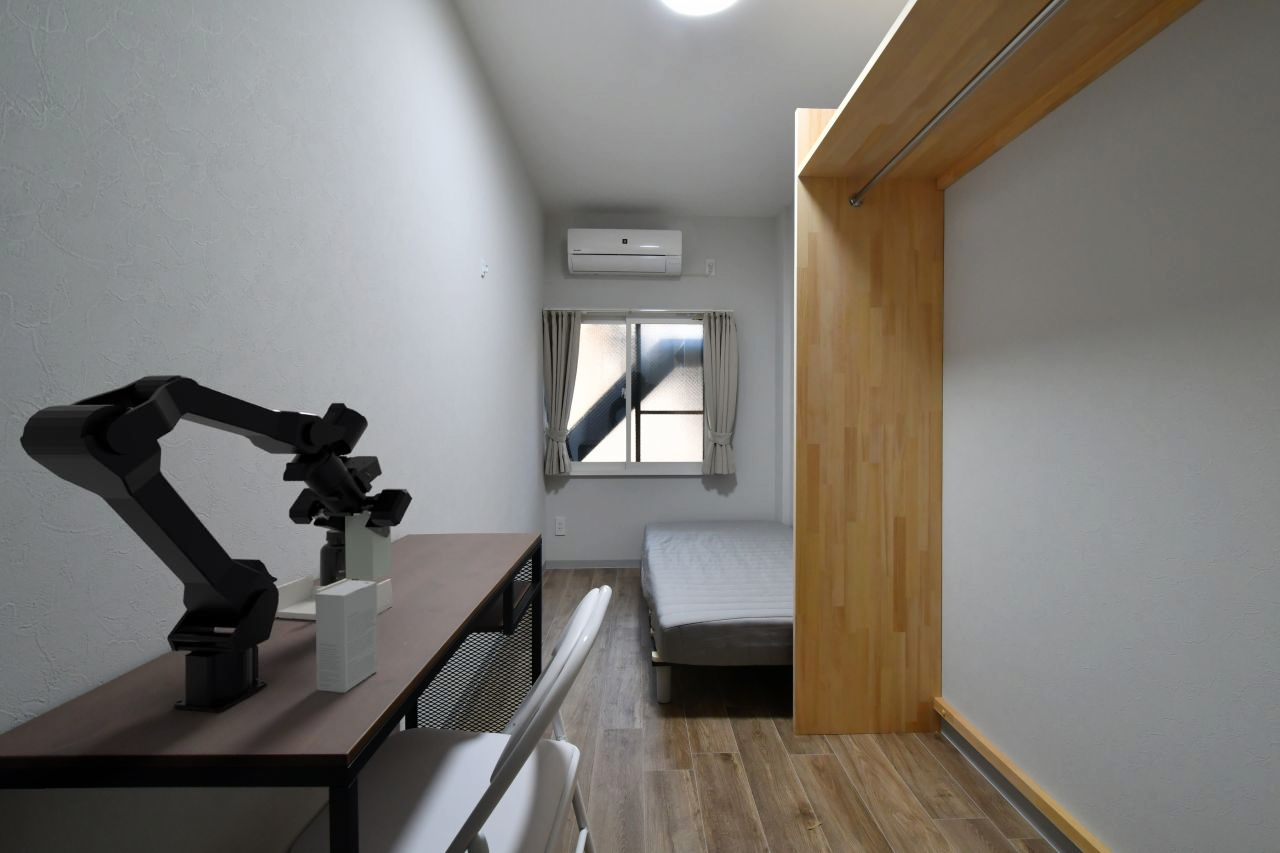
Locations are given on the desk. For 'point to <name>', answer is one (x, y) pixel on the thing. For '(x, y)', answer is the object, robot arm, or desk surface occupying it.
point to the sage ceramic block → (365, 549)
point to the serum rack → (301, 597)
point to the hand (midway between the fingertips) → (373, 534)
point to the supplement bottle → (333, 558)
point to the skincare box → (346, 635)
